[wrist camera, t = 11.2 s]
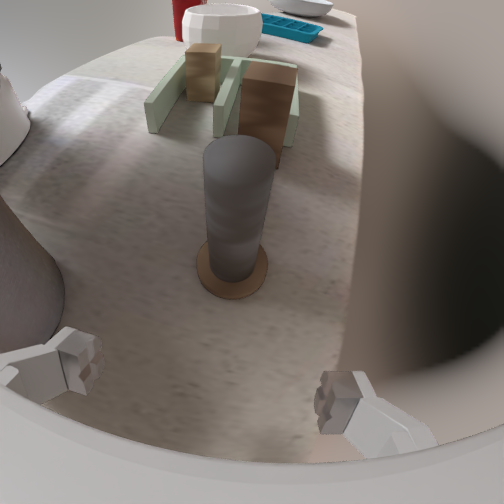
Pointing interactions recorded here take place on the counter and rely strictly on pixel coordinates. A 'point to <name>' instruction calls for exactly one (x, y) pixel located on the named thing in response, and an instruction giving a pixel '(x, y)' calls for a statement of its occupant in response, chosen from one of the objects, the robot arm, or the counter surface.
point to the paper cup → (182, 13)
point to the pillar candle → (26, 287)
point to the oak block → (203, 71)
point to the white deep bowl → (223, 27)
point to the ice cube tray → (289, 28)
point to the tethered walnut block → (244, 183)
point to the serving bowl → (303, 7)
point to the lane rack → (231, 79)
